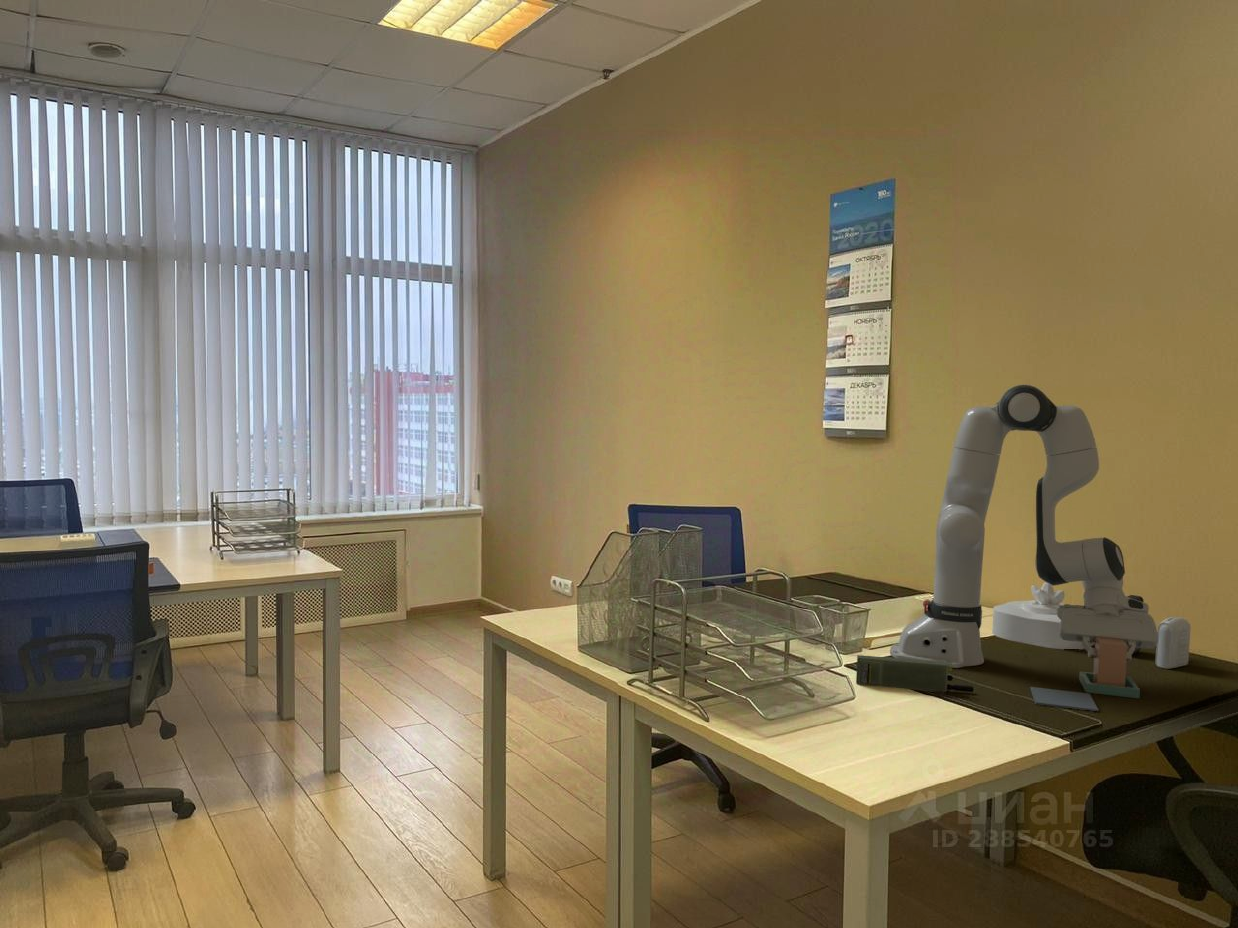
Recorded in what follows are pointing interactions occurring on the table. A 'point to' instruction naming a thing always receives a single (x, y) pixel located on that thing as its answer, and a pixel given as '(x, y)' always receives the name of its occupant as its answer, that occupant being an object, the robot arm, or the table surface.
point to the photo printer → (1173, 643)
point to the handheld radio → (906, 674)
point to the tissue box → (1033, 620)
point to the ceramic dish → (1109, 687)
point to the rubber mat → (1063, 699)
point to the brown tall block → (1110, 662)
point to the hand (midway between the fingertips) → (1109, 658)
